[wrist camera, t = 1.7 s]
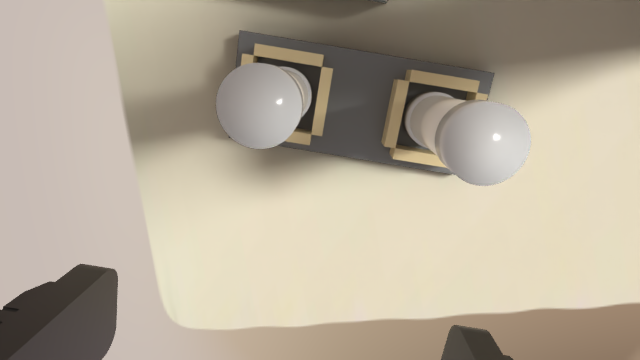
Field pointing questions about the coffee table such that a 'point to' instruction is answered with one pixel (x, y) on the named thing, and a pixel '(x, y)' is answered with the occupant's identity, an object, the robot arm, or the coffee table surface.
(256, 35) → the board
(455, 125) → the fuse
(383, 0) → the parts tray
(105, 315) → the robot arm
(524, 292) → the coffee table surface
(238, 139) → the marked fuse
